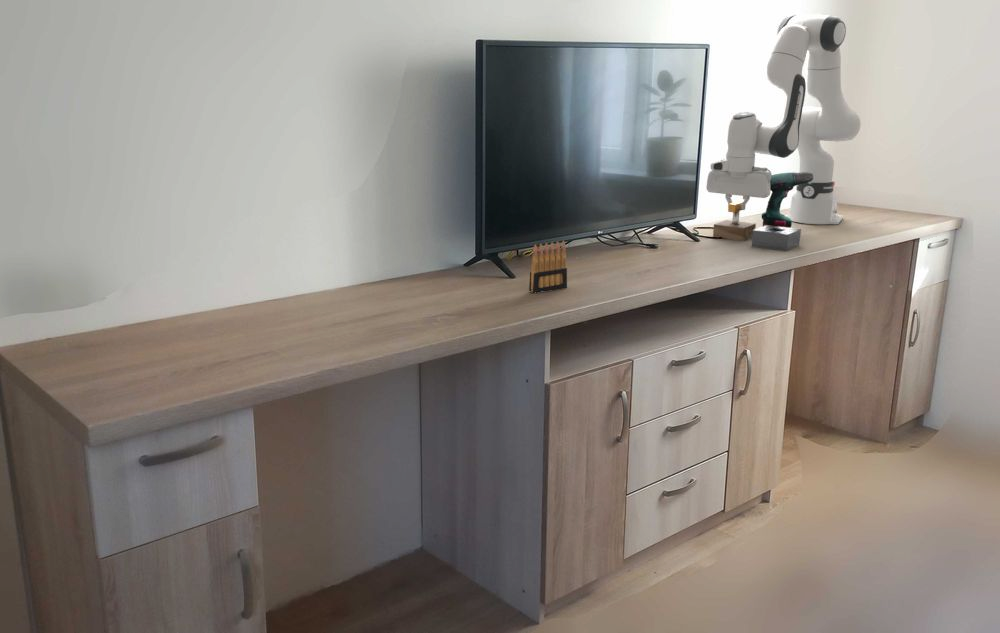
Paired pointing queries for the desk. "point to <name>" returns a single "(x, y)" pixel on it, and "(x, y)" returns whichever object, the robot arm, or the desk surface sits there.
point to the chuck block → (776, 237)
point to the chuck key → (735, 211)
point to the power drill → (782, 196)
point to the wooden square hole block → (734, 230)
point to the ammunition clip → (548, 268)
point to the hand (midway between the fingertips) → (736, 209)
